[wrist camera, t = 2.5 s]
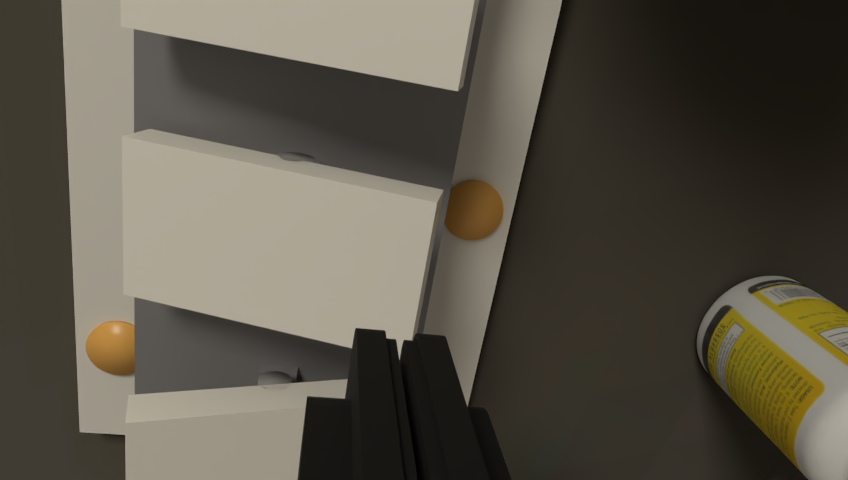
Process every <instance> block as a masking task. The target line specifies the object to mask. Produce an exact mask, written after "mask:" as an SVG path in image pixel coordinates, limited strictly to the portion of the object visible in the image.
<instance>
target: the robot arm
mask: <svg viewBox="0 0 848 480" xmlns="http://www.w3.org/2000/svg"><path fill="white" fill-rule="evenodd" d="M298 480H511V478H510V475H509V472H508V469H507V466H506V463H505V461H504V458H503V455H502V452H501V449H500V446H499V444H498V441H497V438H496V435H495V432H494V429H493V426H492V424H491V421H490V418H489V415H488V413H487V411H486V410H485V409H484V408H477V407H467V404H466V401H465V398H464V394H463V391H462V388H461V385H460V381H459V378H458V375H457V372H456V368H455V365H454V362H453V358H452V355H451V352H450V349H449V345H448V342H447V339H446V337H445V336H443V335H432V334H420V333H416V334H415V336H414V338H413V341H412V340H404V341H403V344H402V349H401V355H400V360H399V355H398V349H397V342H396V339H388V338H386V332H385V330H374V329H362V328H356V329H355V333H354V338H353V345H352V352H351V359H350V366H349V373H348V380H347V387H346V394H345V399H342V398H327V397H312V396H307V401H306V409H305V418H304V426H303V435H302V443H301V452H300V461H299V470H298Z"/></svg>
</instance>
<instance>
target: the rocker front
mask: <svg viewBox="0 0 848 480" xmlns="http://www.w3.org/2000/svg"><path fill="white" fill-rule="evenodd" d="M120 1H121V27H126V28H131V29H136V30H141V31H147V32H152V33H157V34H162V35H167V36H173V37H178V38H183V39H188V40H193V41H199V42H204V43H209V44H214V45H219V46H225V47H230V48H235V49H240V50H245V51H251V52H256V53H261V54H266V55H271V56H276V57H282V58H287V59H292V60H297V61H302V62H308V63H313V64H318V65H323V66H328V67H334V68H339V69H344V70H349V71H354V72H360V73H365V74H370V75H375V76H380V77H386V78H391V79H396V80H401V81H406V82H412V83H417V84H422V85H427V86H432V87H437V88H443V89H448V90H453V91H459V90H460V89H461V88H462V87H463V84H464V79H465V74H466V68H467V63H468V58H469V52H470V47H471V42H472V36H473V31H474V26H475V20H476V15H477V10H478V4H479V0H120Z"/></svg>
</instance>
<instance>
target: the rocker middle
mask: <svg viewBox="0 0 848 480" xmlns="http://www.w3.org/2000/svg"><path fill="white" fill-rule="evenodd" d="M443 191H444V190H442V189H437V188H432V187H428V186H423V185H418V184H413V183H408V182H404V181H399V180H394V179H389V178H384V177H380V176H375V175H370V174H365V173H360V172H356V171H351V170H346V169H341V168H336V167H331V166H327V165H322V164H317V163H315V158H314V157H313V156H310V155H307V154H303V153H298V152H280V153H278V154H277V155H274V154H269V153H264V152H259V151H255V150H250V149H245V148H240V147H235V146H231V145H226V144H221V143H216V142H211V141H207V140H202V139H197V138H192V137H187V136H182V135H178V134H173V133H168V132H163V131H158V130H154V129H147V130H143V131H140V132H136V133H132V134H129V135H125V136H122V202H123V294H124V295H128V296H132V297H136V298H141V299H145V300H149V301H153V302H157V303H162V304H166V305H170V306H174V307H179V308H183V309H187V310H191V311H196V312H200V313H204V314H208V315H213V316H217V317H221V318H225V319H230V320H234V321H238V322H242V323H247V324H251V325H255V326H259V327H264V328H268V329H272V330H276V331H281V332H285V333H289V334H293V335H298V336H302V337H306V338H310V339H314V340H319V341H323V342H327V343H331V344H336V345H340V346H344V347H348V348H352V345H353V338H354V333H355V329H356V328H362V329H374V330H385V332H386V338H388V339H396V342H397V349H398V355H399V360H400V355H401V349H402V344H403V341H404V340H412V341H413V338H414V336H415V334H416V333H417V330H418V325H419V319H420V314H421V309H422V303H423V298H424V293H425V287H426V282H427V277H428V271H429V266H430V261H431V255H432V250H433V245H434V239H435V234H436V229H437V223H438V218H439V213H440V207H441V202H442V197H443Z"/></svg>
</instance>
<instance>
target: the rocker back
mask: <svg viewBox="0 0 848 480" xmlns="http://www.w3.org/2000/svg"><path fill="white" fill-rule="evenodd" d="M347 380H348V379H342V380H328V381H314V382H300V383H292V379H291V377H290V376H289V375H288V374H286V373H284V372H281V371H269V372H265V373H263V374H262V375H260V376H259V378H258V386H245V387H232V388H218V389H204V390H191V391H177V392H163V393H149V394H136V395H128V402H127V411H126V421H125V453H126V480H298V470H299V461H300V452H301V443H302V435H303V426H304V418H305V409H306V401H307V396H312V397H327V398H342V399H345V394H346V387H347Z"/></svg>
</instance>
